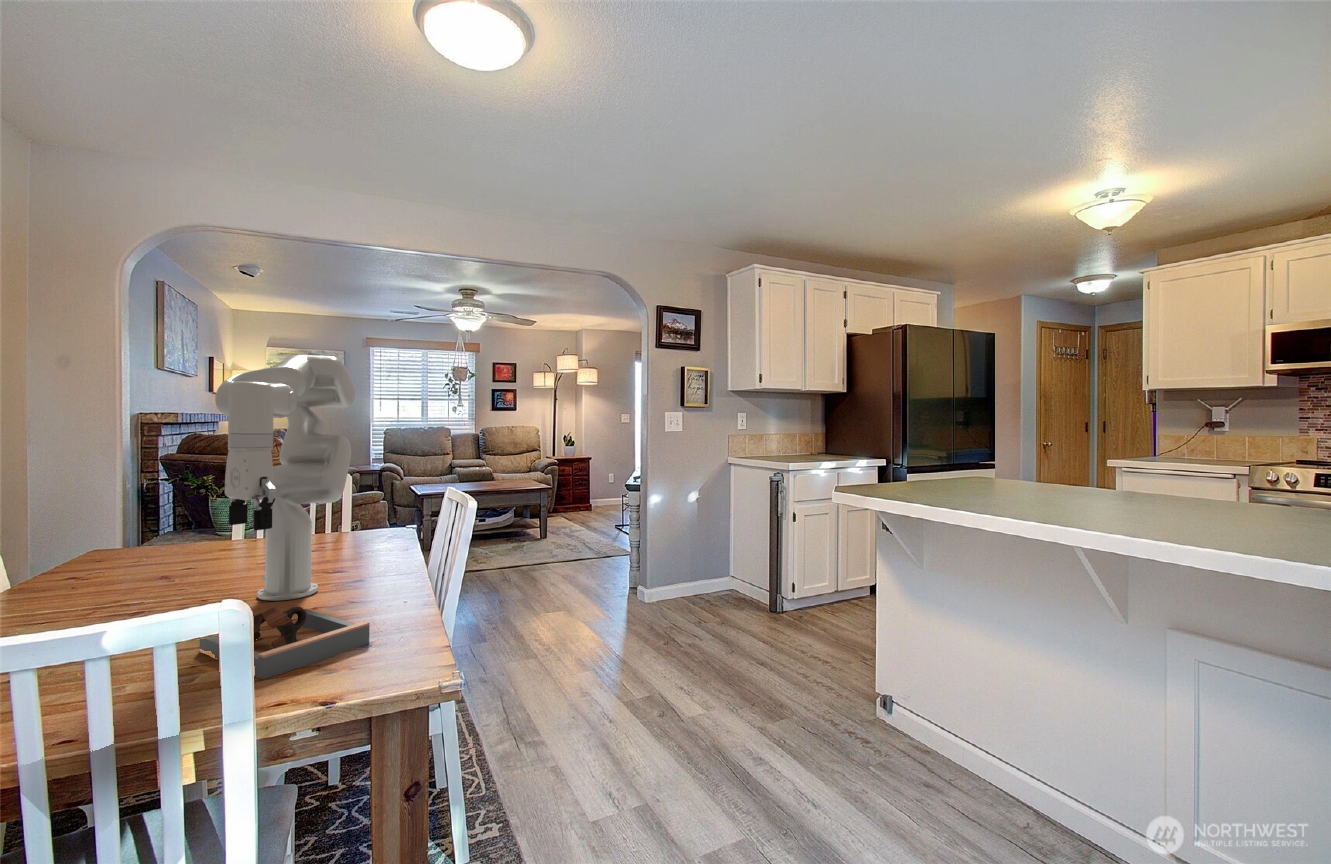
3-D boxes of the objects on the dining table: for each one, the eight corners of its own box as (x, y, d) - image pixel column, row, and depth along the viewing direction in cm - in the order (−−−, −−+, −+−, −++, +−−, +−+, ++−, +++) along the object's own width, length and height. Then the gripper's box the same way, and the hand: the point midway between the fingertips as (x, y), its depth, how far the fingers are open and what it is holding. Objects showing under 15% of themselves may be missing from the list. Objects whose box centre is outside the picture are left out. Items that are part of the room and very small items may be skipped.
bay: (199, 652, 108) (199, 630, 108) (305, 622, 124) (305, 604, 124) (263, 679, 97) (263, 655, 97) (369, 643, 114) (369, 622, 114)
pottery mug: (264, 662, 106) (240, 622, 105) (241, 673, 110) (218, 636, 110) (325, 625, 116) (303, 589, 116) (302, 637, 121) (281, 602, 120)
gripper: (209, 441, 121) (208, 524, 121) (252, 444, 112) (251, 534, 112) (249, 440, 127) (249, 519, 127) (293, 443, 118) (292, 528, 119)
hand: (250, 526), depth 120 cm, fingers open, 9 cm apart
